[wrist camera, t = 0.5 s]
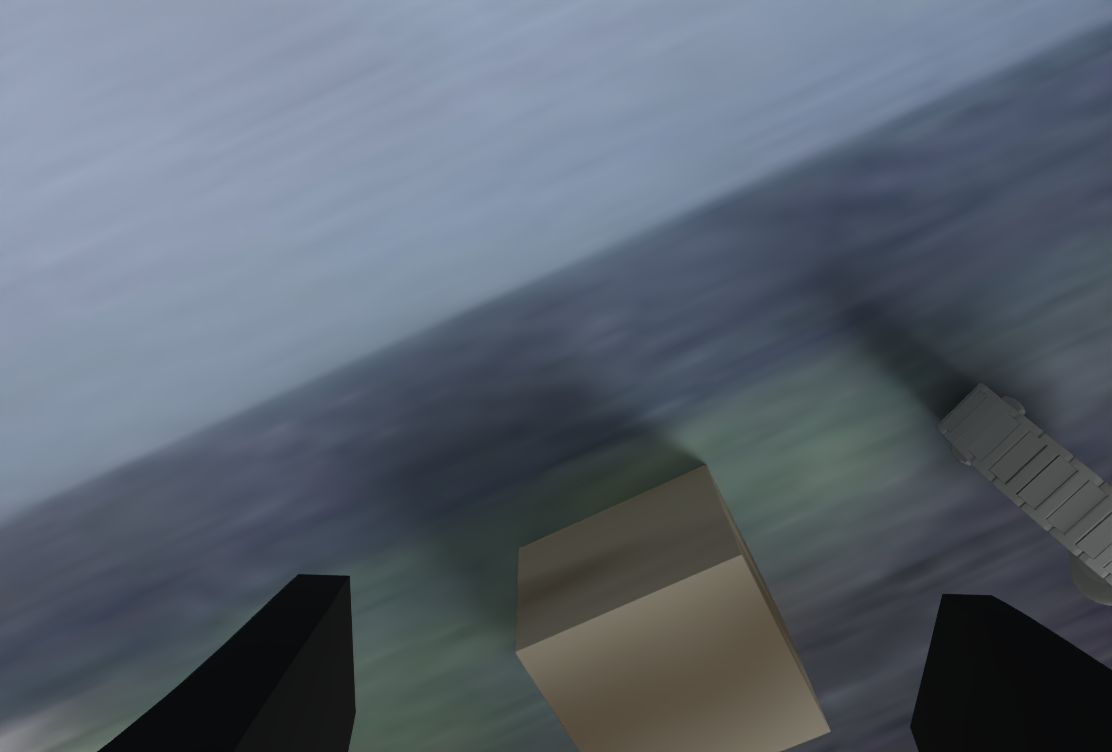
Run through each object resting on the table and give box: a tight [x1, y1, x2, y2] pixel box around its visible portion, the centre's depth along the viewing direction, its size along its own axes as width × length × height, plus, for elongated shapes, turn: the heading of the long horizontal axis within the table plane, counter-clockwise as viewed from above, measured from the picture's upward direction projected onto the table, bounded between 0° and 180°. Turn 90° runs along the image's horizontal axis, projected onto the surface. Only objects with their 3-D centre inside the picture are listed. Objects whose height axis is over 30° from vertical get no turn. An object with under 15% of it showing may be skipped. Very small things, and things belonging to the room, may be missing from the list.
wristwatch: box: [936, 382, 1112, 606], centre depth 18 cm, size 3×5×5 cm, turn 52°
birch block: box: [515, 464, 831, 752], centre depth 20 cm, size 5×5×4 cm
